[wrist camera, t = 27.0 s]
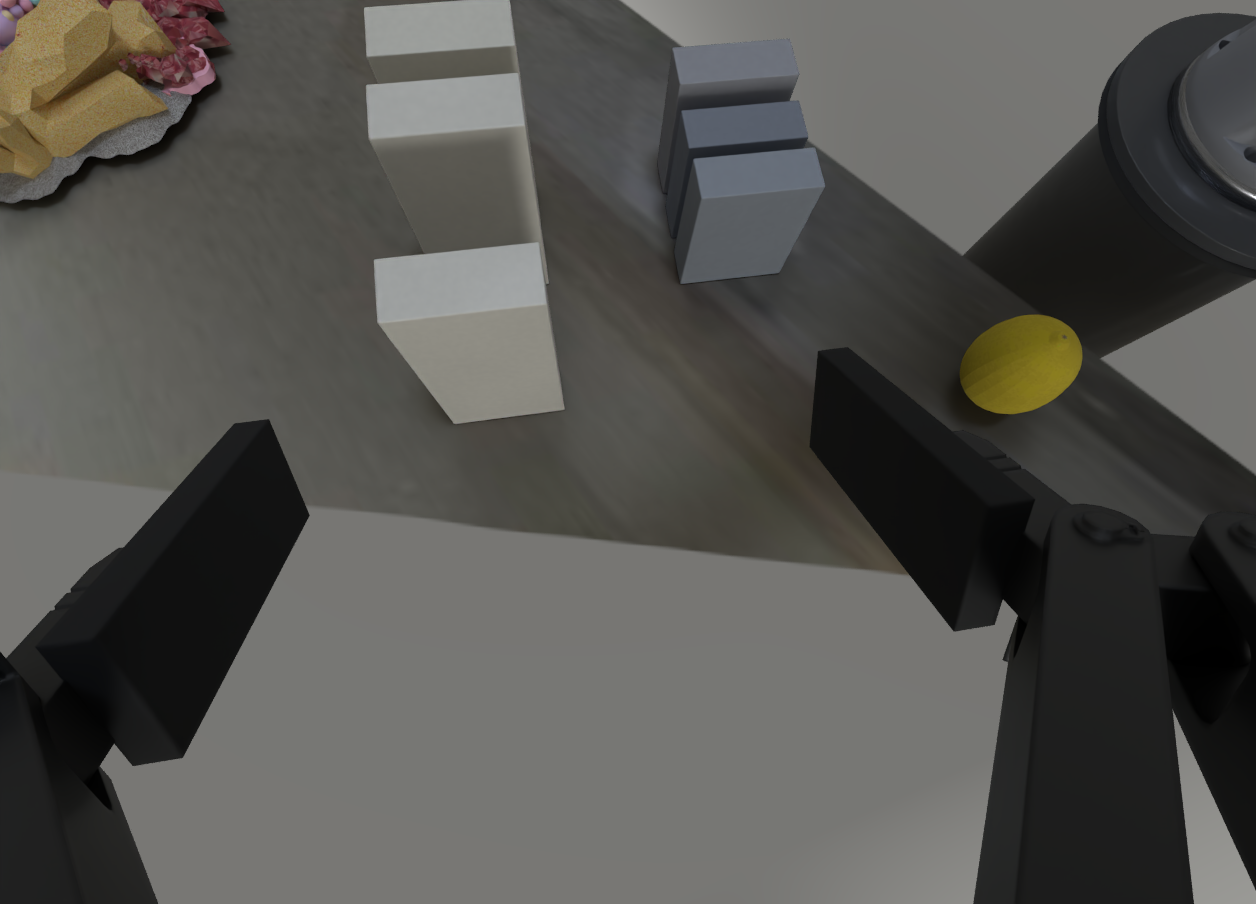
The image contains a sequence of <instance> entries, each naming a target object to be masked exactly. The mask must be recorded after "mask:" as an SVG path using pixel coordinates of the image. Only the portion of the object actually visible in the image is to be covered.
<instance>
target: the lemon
mask: <svg viewBox="0 0 1256 904" xmlns="http://www.w3.org/2000/svg"><path fill="white" fill-rule="evenodd" d="M1081 363H1082V347H1081V344H1080V341H1079V339H1078V337H1077V335H1076V334H1075V332H1074V331H1073V330H1072V329H1071V328H1070V327H1069V326H1068V325H1066V324H1065V323H1063V322H1062V321H1060V320H1057V319H1055V318H1053V317H1050V316H1044V315H1022V316H1018V317H1015V318H1012V319H1009V320H1006V321H1003V322H1001V323H998V324H996V325H994V326H993V327H991V328H990V329H988V330H987V331H985V332H984V333H982V334H981V335H980V336H979V337H977V338H976V340H975V341H974V342H973V343H972V344H971V345H970V347H969V348H968V349H967V351H966V352H965V354H964V357H963V359H962V362H961V366H960V381H961V385H962V387H963V389H964V392H965V393H966V394H967V396H968V397H969V399H971V400H972V401H973V402H974V403H975V404H976V405H978V406H979V407H981V408H983V409H985V410H988V411H991V412H994V413H1000V414H1016V413H1022V412H1027V411H1031V410H1034V409H1036V408H1039V407H1041V406H1043V405H1045V404H1047V403H1048V402H1050V401H1052V400H1053V399H1055V398H1056V397H1058V396H1059V395H1060V394H1061V393H1062V392H1063V391H1064V390H1065V389H1066V388H1067V387H1068V386H1069V385H1070V384H1071V383H1072V382H1073V381H1074V379H1075V377H1076V376H1077V374H1078V372H1079V370H1080V367H1081Z"/></svg>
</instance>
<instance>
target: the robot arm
mask: <svg viewBox="0 0 1256 904" xmlns="http://www.w3.org/2000/svg"><path fill="white" fill-rule="evenodd" d="M1168 118H1169V124H1170V128H1171V132H1172V135H1173V137H1174V140H1175V142H1176V144H1177V146H1178V148H1179V150H1180V152H1181V153H1182V155H1183V157H1184V158H1185V159H1186V161H1187V162H1188V164H1189V165H1190V166H1191V167H1192V169H1193V170H1194V171H1195V172H1196V173H1197V174H1198V175H1199V176H1200V177H1201V178H1202V179H1203V180H1204V181H1205V182H1206V183H1207V184H1208V185H1210V186H1211V187H1212V188H1213V189H1215V190H1216V191H1217V192H1219V193H1220V194H1221V195H1223V196H1225V197H1226V198H1228V199H1229V200H1231V201H1233V202H1235V203H1237V204H1238V205H1240V206H1243V207H1245V208H1247V209H1249V210H1252V211H1255V212H1256V20H1254V21H1252V22H1251V23H1249V24H1247V25H1246V26H1244V27H1243V28H1241V29H1239V30H1236V31H1234V32H1232V33H1230V34H1229V35H1227V36H1225V37H1223V38H1222V39H1220V40H1219V41H1217V42H1216V43H1215V44H1213V45H1212V46H1210V47H1209V48H1207V49H1206V50H1205V51H1204V52H1202V53H1201V54H1200V55H1199V56H1198V57H1197V58H1196V59H1195V60H1194V61H1193V62H1192V63H1190V64H1189V65H1188V66H1187V67H1186V68H1185V69H1184V70H1183V71H1182V72H1181V73H1180V75H1179V76H1178V77H1177V79H1176V80H1175V82H1174V84H1173V86H1172V89H1171V91H1170V95H1169V100H1168ZM810 448H811V449H812V451H813V452H814V453H815V455H816V456H817V457H818V458H819V460H820V461H821V462H822V463H823V465H824V466H825V467H826V469H827V470H828V471H829V472H830V474H831V475H832V476H833V478H834V479H835V480H836V481H837V483H838V484H839V485H840V487H841V488H842V489H843V490H844V492H845V493H846V494H847V495H848V497H849V498H850V499H851V501H852V502H853V503H854V504H855V506H856V507H857V508H858V510H859V511H860V512H861V513H862V515H863V516H864V517H865V518H866V520H867V521H868V522H869V524H870V525H871V526H872V527H873V529H874V530H875V531H876V533H877V534H878V535H879V536H880V538H881V539H882V540H883V542H884V543H885V544H886V545H887V547H888V548H889V549H890V550H891V552H892V553H893V554H894V556H895V557H896V558H897V559H898V561H899V562H900V563H901V565H902V566H903V567H904V568H905V570H906V571H907V572H908V573H909V575H910V576H911V577H912V579H913V580H914V581H915V582H916V584H917V585H918V586H919V588H920V589H921V590H922V591H923V593H924V594H925V595H926V597H927V598H928V599H929V600H930V602H931V603H932V604H933V605H934V606H935V608H936V609H937V611H938V612H939V613H940V614H941V616H942V617H943V618H944V619H945V621H946V622H947V623H948V625H949V626H950V627H951V628H952V630H953V631H960V630H966V629H972V628H979V627H985V626H991V625H995V622H996V618H997V616H998V612H999V609H1000V606H1001V603H1002V600H1004V601H1006V603H1007V604H1008V605H1009V606H1010V607H1011V608H1012V609H1013V610H1014V611H1015V612H1016V614H1017V615H1018V617H1017V620H1016V623H1015V625H1014V628H1013V632H1012V634H1011V637H1010V640H1009V643H1008V646H1007V649H1006V651H1005V654H1004V657H1003V660H1004V661H1007V662H1008V668H1007V675H1006V682H1005V688H1004V695H1003V703H1002V709H1001V716H1000V723H999V730H998V737H997V744H996V751H995V758H994V764H993V772H992V778H991V785H990V792H989V799H988V806H987V813H986V820H985V827H984V833H983V840H982V848H981V854H980V861H979V868H978V876H977V882H976V889H975V896H974V903H973V904H1194V900H1193V892H1192V882H1191V874H1190V864H1189V855H1188V846H1187V837H1186V828H1185V819H1184V810H1183V802H1182V793H1181V784H1180V774H1179V765H1178V757H1177V747H1176V738H1175V729H1174V720H1173V711H1174V713H1175V715H1176V717H1177V720H1178V722H1179V724H1180V726H1181V728H1182V730H1183V733H1184V735H1185V737H1186V739H1187V741H1188V743H1189V746H1190V748H1191V750H1192V752H1193V754H1194V756H1195V759H1196V761H1197V763H1198V765H1199V767H1200V770H1201V772H1202V774H1203V776H1204V778H1205V781H1206V783H1207V785H1208V787H1209V789H1210V791H1211V794H1212V796H1213V798H1214V800H1215V802H1216V804H1217V807H1218V809H1219V811H1220V813H1221V815H1222V817H1223V820H1224V822H1225V824H1226V826H1227V829H1228V831H1229V833H1230V835H1231V837H1232V839H1233V842H1234V844H1235V846H1236V848H1237V850H1238V852H1239V855H1240V857H1241V859H1242V861H1243V863H1244V866H1245V868H1246V870H1247V872H1248V874H1249V876H1250V879H1251V881H1252V883H1253V885H1254V887H1255V890H1256V515H1252V514H1247V513H1241V512H1218V513H1214V514H1211V515H1208V516H1207V517H1206V518H1205V520H1204V521H1203V522H1202V524H1201V526H1200V528H1199V530H1198V532H1197V534H1196V536H1195V537H1190V536H1175V535H1160V534H1150V532H1149V530H1148V529H1146V528H1145V527H1144V526H1143V525H1142V524H1140V523H1139V522H1138V521H1137V520H1135V519H1133V518H1131V517H1129V516H1127V515H1125V514H1123V513H1121V512H1118V511H1115V510H1112V509H1109V508H1105V507H1102V506H1096V505H1088V504H1073V505H1071V504H1070V503H1069V502H1067V501H1066V500H1065V499H1063V498H1062V497H1061V496H1059V495H1058V494H1057V493H1056V492H1054V491H1053V490H1052V489H1050V488H1049V487H1048V486H1046V485H1045V484H1044V483H1042V482H1041V481H1040V480H1039V479H1037V478H1036V477H1035V476H1033V475H1032V474H1031V473H1029V472H1028V471H1027V470H1025V469H1021V466H1020V465H1019V464H1018V463H1016V462H1015V461H1014V460H1012V459H1011V458H1007V457H1006V454H1005V453H1003V452H1002V451H1001V450H999V449H998V448H997V447H995V446H994V445H993V444H992V443H990V442H989V441H987V440H985V439H982V438H980V437H978V436H975V435H973V434H971V433H968V432H966V431H964V430H962V431H955V432H952V431H951V430H950V429H948V428H947V427H946V426H945V425H943V424H942V423H941V422H940V421H938V420H937V419H936V418H935V417H933V416H932V415H931V414H930V413H929V412H927V411H926V410H925V409H924V408H922V407H921V406H920V405H919V404H917V403H916V402H915V401H914V400H912V399H911V398H910V397H909V396H908V395H906V394H905V393H904V392H903V391H901V390H900V389H899V388H898V387H896V386H895V385H894V384H893V383H891V382H890V381H889V380H888V379H887V378H885V377H884V376H883V375H882V374H880V373H879V372H878V371H877V370H875V369H874V368H873V367H872V366H870V365H869V364H868V363H867V362H865V361H864V360H863V359H862V358H861V357H859V356H858V355H857V354H856V353H854V352H853V351H852V350H851V349H849V348H848V347H846V348H838V349H830V350H822V351H818V358H817V369H816V380H815V392H814V403H813V414H812V425H811V436H810ZM308 517H309V513H308V510H307V508H306V506H305V503H304V501H303V499H302V496H301V494H300V491H299V489H298V487H297V484H296V482H295V480H294V477H293V475H292V473H291V470H290V468H289V465H288V463H287V461H286V458H285V456H284V454H283V451H282V449H281V447H280V444H279V442H278V440H277V437H276V435H275V432H274V430H273V428H272V425H271V423H270V421H269V419H267V420H259V421H251V422H243V423H235V424H234V425H233V426H232V427H231V428H230V429H229V430H228V431H227V432H226V434H225V435H224V436H223V437H222V438H221V439H220V440H219V441H218V443H217V444H216V445H215V446H214V447H213V448H212V449H211V450H210V452H209V453H208V454H207V455H206V456H205V457H204V458H203V459H202V460H201V462H200V463H199V464H198V465H197V466H196V467H195V468H194V469H193V471H192V472H191V473H190V474H189V475H188V476H187V477H186V478H185V480H184V481H183V482H182V483H181V484H180V485H179V486H178V487H177V488H176V490H175V491H174V492H173V493H172V494H171V495H170V496H169V497H168V499H167V500H166V501H165V502H164V503H163V504H162V505H161V506H160V508H159V509H158V510H157V511H156V512H155V513H154V514H153V515H152V516H151V518H150V519H149V520H148V521H147V522H146V523H145V524H144V526H143V527H142V528H141V529H140V530H139V531H138V532H137V533H136V534H135V536H134V537H133V538H132V539H131V540H130V541H129V542H128V543H127V544H126V546H125V547H123V548H118V549H117V550H115V551H114V552H112V553H111V554H110V555H108V556H106V557H105V558H104V559H103V560H101V561H99V562H98V563H96V564H95V565H94V566H92V567H91V568H89V570H88V571H87V572H86V573H85V574H84V575H83V576H82V577H81V578H80V579H79V581H77V583H76V584H75V585H74V586H73V587H72V588H71V593H66V594H65V595H64V597H63V598H62V599H61V600H60V601H59V602H58V603H57V604H56V605H55V610H53V611H50V612H49V613H48V614H47V615H46V616H45V617H44V618H43V619H42V620H41V621H40V623H39V624H38V625H37V626H36V627H35V628H34V629H33V630H32V631H31V632H30V633H29V634H28V635H27V637H26V638H25V639H24V640H23V641H22V642H21V643H20V644H19V645H18V646H17V647H16V649H15V650H14V651H13V652H12V653H11V654H10V655H9V656H8V657H7V658H5V657H4V656H3V655H2V653H1V652H0V904H158V902H157V899H156V897H155V894H154V892H153V889H152V886H151V883H150V881H149V878H148V876H147V873H146V870H145V868H144V865H143V862H142V860H141V857H140V854H139V852H138V849H137V847H136V844H135V841H134V839H133V836H132V834H131V831H130V828H129V825H128V823H127V820H126V818H125V815H124V812H123V810H122V807H121V805H120V802H119V800H118V797H117V794H116V791H115V789H114V786H113V783H112V781H111V779H110V778H109V776H108V775H107V774H106V773H105V772H104V771H103V770H102V768H101V767H100V765H101V763H102V761H103V760H104V758H105V757H106V755H107V754H108V752H109V750H110V749H111V747H112V746H113V744H115V745H116V746H117V747H118V749H119V750H120V751H121V752H122V753H123V755H124V756H125V757H126V758H127V759H128V761H129V762H130V763H131V764H132V766H136V765H142V764H148V763H155V762H160V761H167V760H173V759H178V758H183V756H184V754H185V753H186V751H187V749H188V747H189V745H190V743H191V741H192V739H193V737H194V735H195V733H196V732H197V729H198V728H199V726H200V724H201V722H202V720H203V718H204V716H205V714H206V712H207V711H208V709H209V707H210V705H211V703H212V701H213V699H214V697H215V695H216V693H217V691H218V689H219V688H220V686H221V684H222V682H223V680H224V678H225V676H226V674H227V672H228V670H229V668H230V666H231V665H232V663H233V661H234V659H235V657H236V655H237V653H238V651H239V649H240V647H241V646H242V644H243V642H244V640H245V638H246V636H247V634H248V632H249V630H250V628H251V626H252V625H253V623H254V621H255V619H256V617H257V615H258V613H259V611H260V609H261V607H262V605H263V603H264V602H265V600H266V598H267V596H268V594H269V592H270V590H271V588H272V586H273V584H274V582H275V581H276V579H277V577H278V575H279V573H280V571H281V569H282V567H283V565H284V563H285V561H286V560H287V557H288V556H289V554H290V552H291V550H292V548H293V546H294V544H295V542H296V540H297V538H298V537H299V535H300V533H301V531H302V529H303V527H304V525H305V523H306V521H307V519H308ZM1172 709H1173V711H1172Z"/></svg>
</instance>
